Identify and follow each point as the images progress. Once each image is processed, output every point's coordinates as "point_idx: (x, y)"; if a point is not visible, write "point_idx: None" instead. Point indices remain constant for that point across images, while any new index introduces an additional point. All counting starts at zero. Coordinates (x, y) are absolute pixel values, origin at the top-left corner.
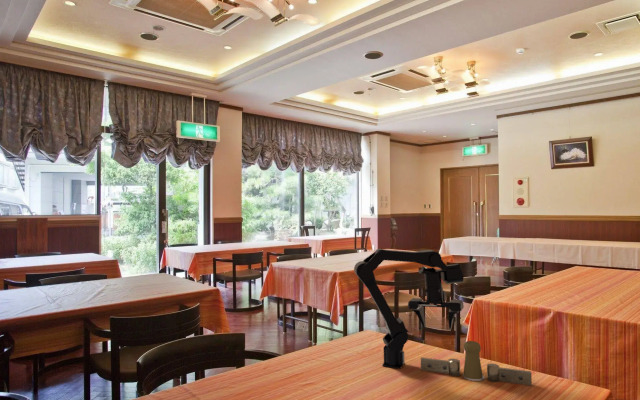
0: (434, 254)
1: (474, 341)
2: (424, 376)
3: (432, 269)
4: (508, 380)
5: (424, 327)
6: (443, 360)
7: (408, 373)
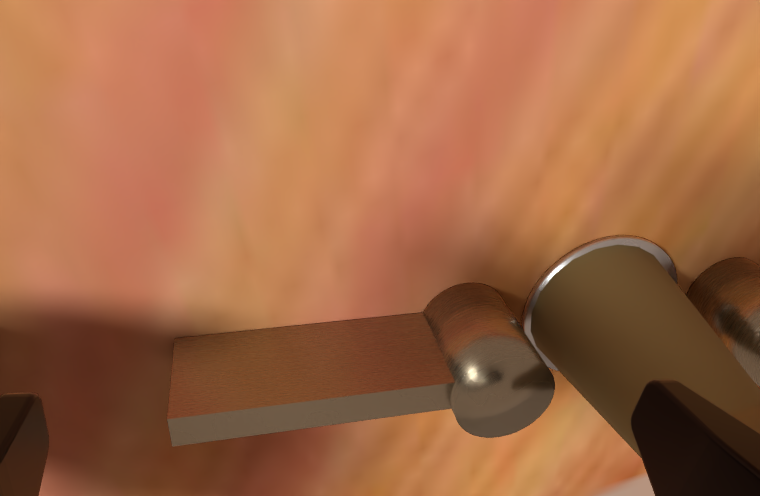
0: None
1: None
2: (245, 447)
3: None
4: None
5: (40, 453)
6: (402, 396)
7: (104, 456)
